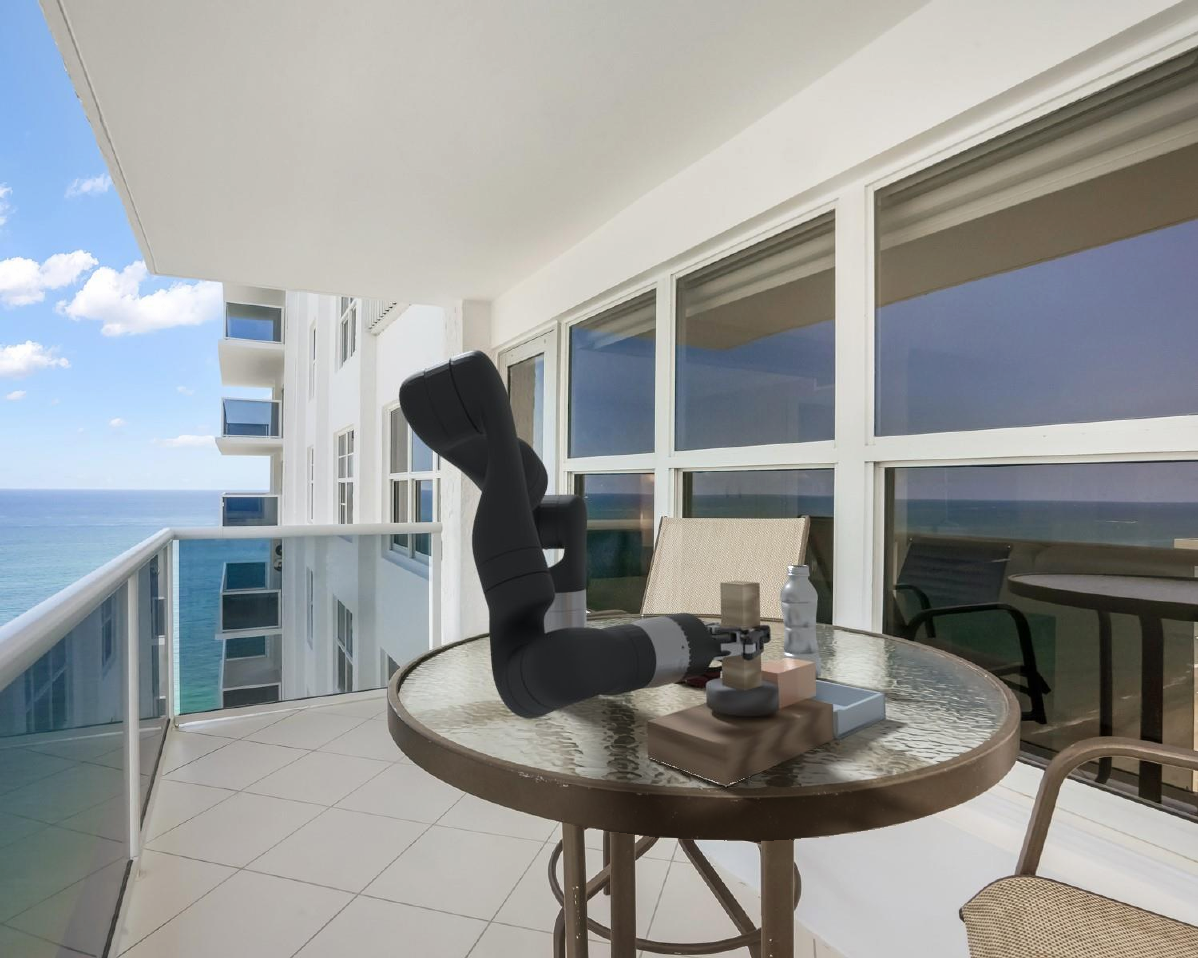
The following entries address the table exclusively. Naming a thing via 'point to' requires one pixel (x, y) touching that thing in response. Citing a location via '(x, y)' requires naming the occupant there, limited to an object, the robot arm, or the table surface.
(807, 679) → the beige cube
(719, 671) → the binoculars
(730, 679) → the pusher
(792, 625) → the plastic bottle
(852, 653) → the table surface
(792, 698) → the pinkish tan cube
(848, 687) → the tray
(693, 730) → the wooden rectangular block
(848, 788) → the table surface
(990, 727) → the table surface
